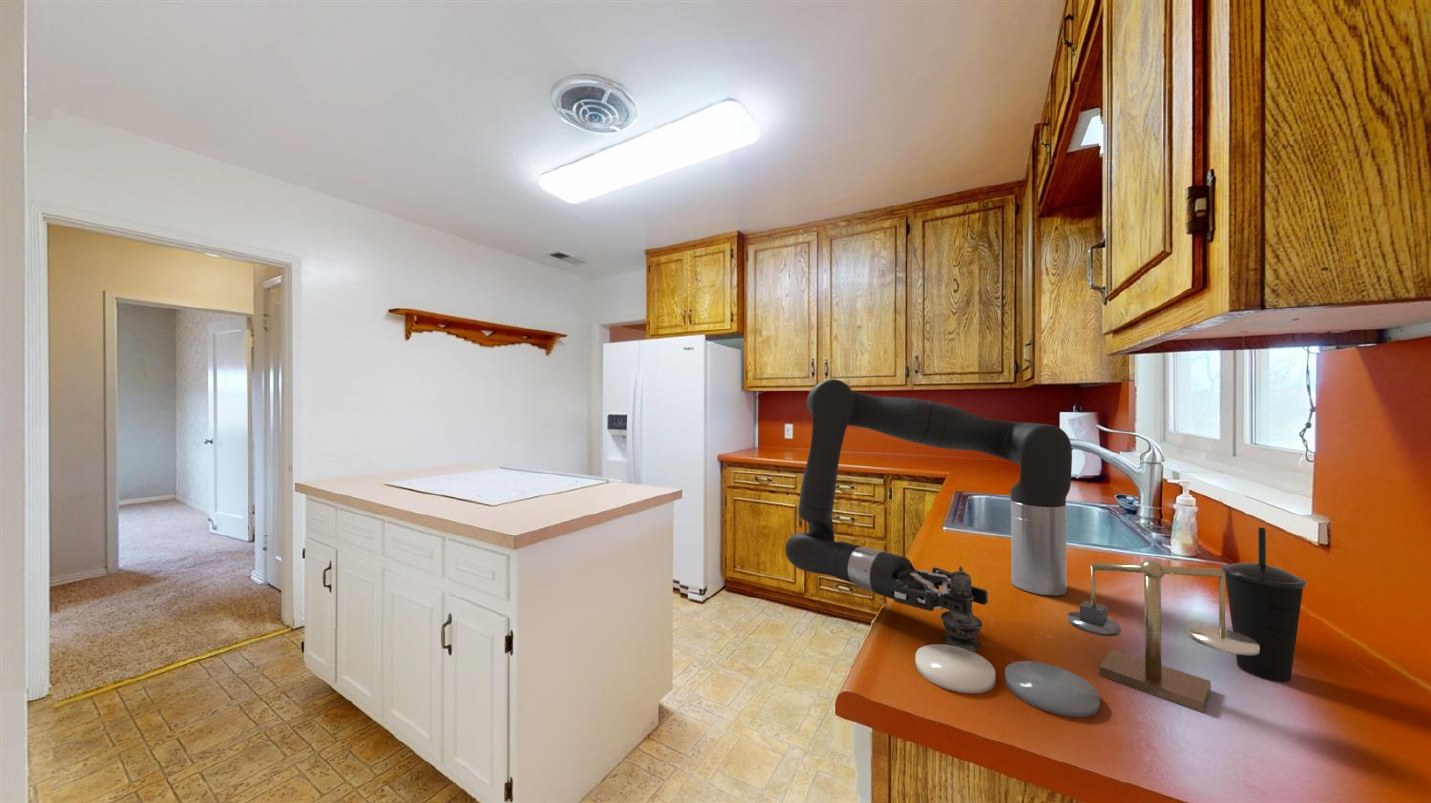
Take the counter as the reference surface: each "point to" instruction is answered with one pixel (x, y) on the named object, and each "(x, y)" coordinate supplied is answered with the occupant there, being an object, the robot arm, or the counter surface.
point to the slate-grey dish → (1052, 689)
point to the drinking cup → (1265, 613)
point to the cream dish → (955, 668)
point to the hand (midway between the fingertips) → (978, 602)
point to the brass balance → (1159, 637)
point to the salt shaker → (961, 616)
